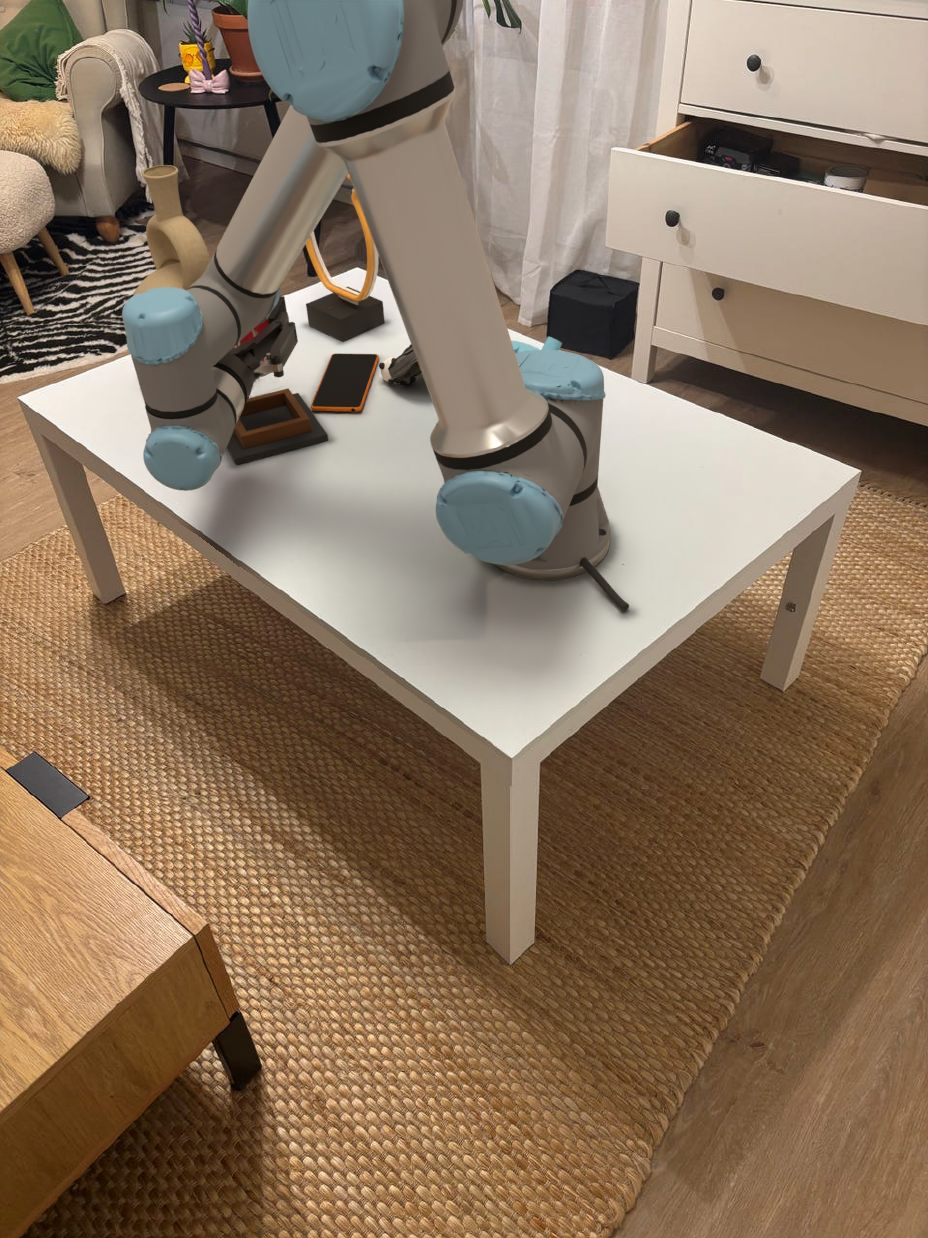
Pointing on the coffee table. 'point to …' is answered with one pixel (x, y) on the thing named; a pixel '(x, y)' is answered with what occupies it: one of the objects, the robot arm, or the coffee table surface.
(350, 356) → the smartphone
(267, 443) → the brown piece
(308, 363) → the coffee table surface
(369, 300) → the lamp
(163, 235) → the vase
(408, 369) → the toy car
